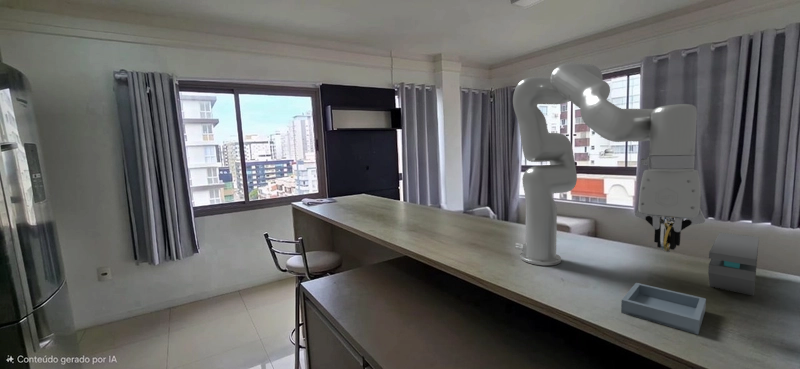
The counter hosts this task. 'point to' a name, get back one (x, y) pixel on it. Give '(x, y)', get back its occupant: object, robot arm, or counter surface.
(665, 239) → the bracelet
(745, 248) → the gray slotted box
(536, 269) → the counter surface
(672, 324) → the tray
